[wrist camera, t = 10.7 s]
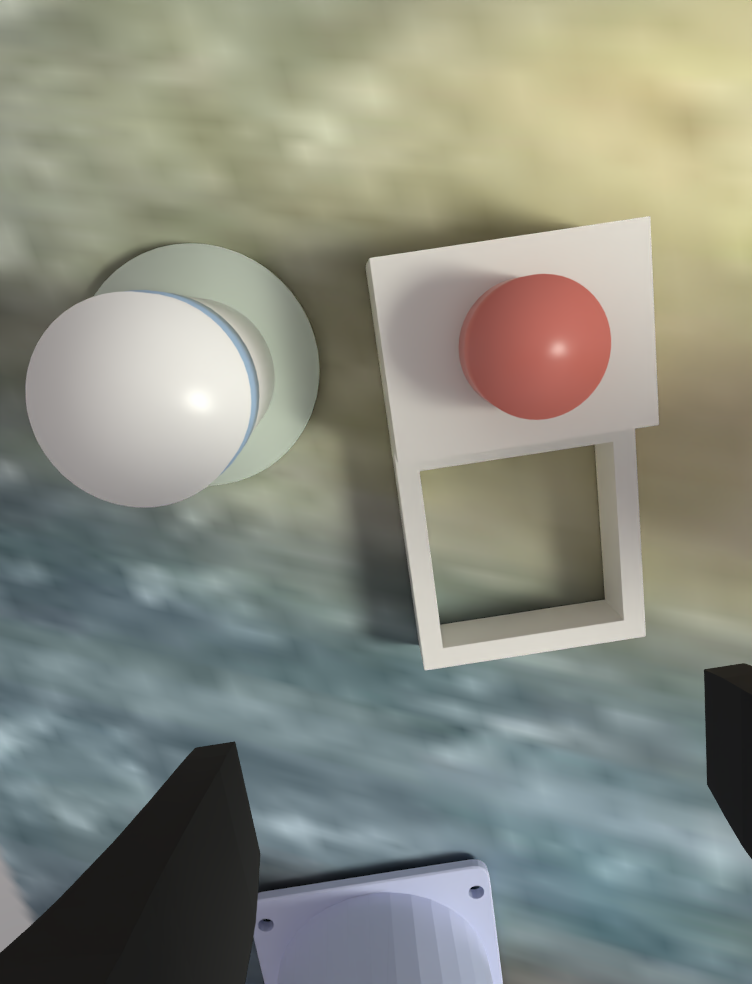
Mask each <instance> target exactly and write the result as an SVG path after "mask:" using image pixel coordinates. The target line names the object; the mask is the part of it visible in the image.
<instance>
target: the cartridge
mask: <svg viewBox="0 0 752 984" xmlns="http://www.w3.org/2000/svg"><path fill="white" fill-rule="evenodd" d="M274 383H275V373H274V365H273V359H272V356H271V353H270V350H269V348H268V345H267V343H266V341H265V339H264V338H263V336H262V335H261V333H260V331H259V330H258V329H257V328H256V327H255V325H254V324H253V323H252V322H251V321H250V320H249V319H248V318H247V317H245V316H244V315H243V314H241V313H240V312H239V311H237V310H235V309H234V308H232V307H230V306H228V305H226V304H223V303H220V302H218V301H214V300H210V299H202V298H193V297H186V296H182V295H178V294H174V293H167V292H159V291H150V290H130V291H124V292H112V293H106V294H101V295H98V296H94V297H91V298H88V299H86V300H84V301H82V302H80V303H77V304H75V305H74V306H72V307H71V308H69V309H68V310H66V311H65V312H63V313H62V314H61V315H60V316H59V317H58V318H57V319H55V320H54V321H53V322H52V323H51V325H50V326H49V327H48V328H47V329H46V331H45V332H44V333H43V335H42V336H41V338H40V340H39V341H38V343H37V345H36V347H35V349H34V351H33V354H32V356H31V359H30V363H29V366H28V370H27V377H26V385H25V390H26V406H27V413H28V417H29V420H30V424H31V427H32V430H33V432H34V434H35V437H36V439H37V441H38V443H39V445H40V447H41V448H42V450H43V452H44V453H45V455H46V456H47V457H48V459H49V460H50V461H51V463H52V464H53V465H54V466H55V467H56V468H57V470H58V471H59V472H60V473H61V474H62V475H63V476H64V477H66V478H67V479H68V480H69V481H71V482H72V483H73V484H74V485H76V486H77V487H79V488H80V489H82V490H83V491H85V492H87V493H89V494H91V495H93V496H95V497H97V498H99V499H102V500H105V501H108V502H110V503H114V504H118V505H123V506H129V507H139V508H143V507H158V506H165V505H169V504H173V503H176V502H180V501H182V500H184V499H187V498H189V497H191V496H193V495H195V494H197V493H198V492H200V491H201V490H203V489H205V488H206V487H207V486H208V485H209V484H211V483H212V482H213V481H214V480H215V479H216V478H217V477H218V476H220V475H221V474H222V473H223V472H224V471H225V470H226V469H227V468H228V467H229V466H230V465H231V464H232V463H233V461H234V460H235V459H236V457H237V456H238V455H239V453H240V452H241V450H242V449H243V447H244V446H245V445H246V443H247V441H248V439H249V437H250V435H251V433H252V432H253V430H254V429H255V428H256V426H257V425H258V424H259V422H260V421H261V420H262V418H263V417H264V415H265V413H266V411H267V409H268V408H269V405H270V402H271V399H272V396H273V391H274Z"/></svg>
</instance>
